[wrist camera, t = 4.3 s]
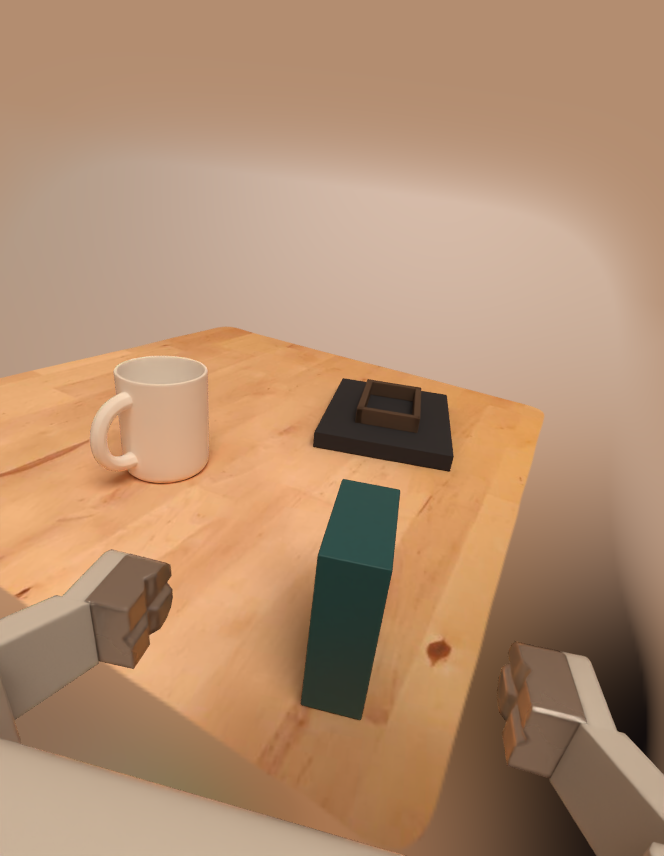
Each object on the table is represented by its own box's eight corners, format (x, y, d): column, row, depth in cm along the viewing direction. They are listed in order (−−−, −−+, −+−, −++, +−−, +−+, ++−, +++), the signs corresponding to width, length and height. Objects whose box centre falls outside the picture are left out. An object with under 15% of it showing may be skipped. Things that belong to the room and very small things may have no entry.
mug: (128, 515, 39) (116, 405, 35) (70, 481, 43) (52, 377, 38) (225, 461, 49) (226, 370, 44) (171, 437, 52) (166, 350, 48)
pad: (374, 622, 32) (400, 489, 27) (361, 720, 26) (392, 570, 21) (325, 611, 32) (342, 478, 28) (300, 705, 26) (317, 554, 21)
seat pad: (444, 407, 70) (449, 382, 68) (449, 471, 52) (457, 440, 50) (341, 390, 72) (344, 365, 70) (313, 446, 54) (316, 416, 52)
